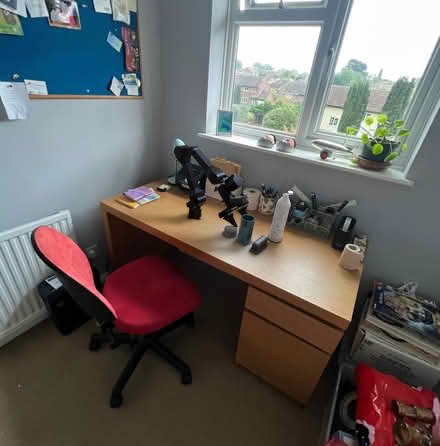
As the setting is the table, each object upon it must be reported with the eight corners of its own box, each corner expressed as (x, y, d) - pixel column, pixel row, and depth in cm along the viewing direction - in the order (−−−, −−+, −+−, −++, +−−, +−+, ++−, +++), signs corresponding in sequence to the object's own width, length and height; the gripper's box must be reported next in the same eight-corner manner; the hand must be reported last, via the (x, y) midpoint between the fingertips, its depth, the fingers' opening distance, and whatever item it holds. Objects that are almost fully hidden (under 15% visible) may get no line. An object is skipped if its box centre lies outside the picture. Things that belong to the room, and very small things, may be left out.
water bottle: (276, 243, 122) (289, 197, 109) (265, 238, 125) (276, 192, 113) (285, 237, 128) (298, 193, 115) (274, 232, 131) (286, 189, 118)
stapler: (256, 254, 113) (258, 246, 110) (249, 250, 114) (251, 243, 112) (267, 245, 120) (269, 237, 118) (260, 242, 122) (262, 234, 120)
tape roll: (223, 236, 123) (224, 231, 121) (223, 229, 128) (224, 224, 126) (236, 238, 123) (237, 232, 121) (236, 231, 128) (237, 225, 127)
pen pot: (235, 242, 119) (239, 219, 113) (239, 235, 125) (243, 213, 118) (248, 245, 118) (253, 222, 111) (252, 239, 123) (256, 216, 117)
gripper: (226, 193, 105) (243, 225, 106) (249, 183, 119) (264, 212, 119) (210, 203, 113) (226, 233, 114) (233, 193, 126) (248, 220, 127)
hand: (242, 224), depth 118 cm, fingers open, 9 cm apart
